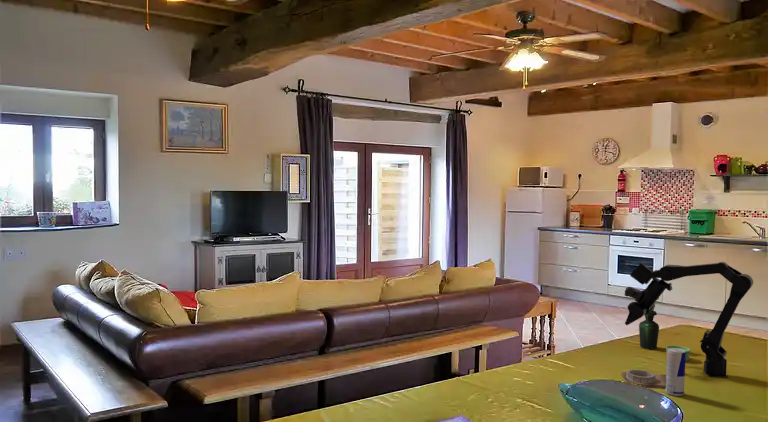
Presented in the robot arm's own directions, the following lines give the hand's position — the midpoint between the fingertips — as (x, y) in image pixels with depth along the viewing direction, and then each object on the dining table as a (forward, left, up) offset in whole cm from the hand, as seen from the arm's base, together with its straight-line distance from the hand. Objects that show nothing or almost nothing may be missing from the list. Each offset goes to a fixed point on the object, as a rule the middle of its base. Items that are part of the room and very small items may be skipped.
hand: (629, 322), depth 251 cm
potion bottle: (-13, -21, -15) cm, 29 cm away
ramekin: (-20, -5, -15) cm, 26 cm away
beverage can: (-5, +40, -15) cm, 43 cm away
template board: (0, +28, -15) cm, 32 cm away
